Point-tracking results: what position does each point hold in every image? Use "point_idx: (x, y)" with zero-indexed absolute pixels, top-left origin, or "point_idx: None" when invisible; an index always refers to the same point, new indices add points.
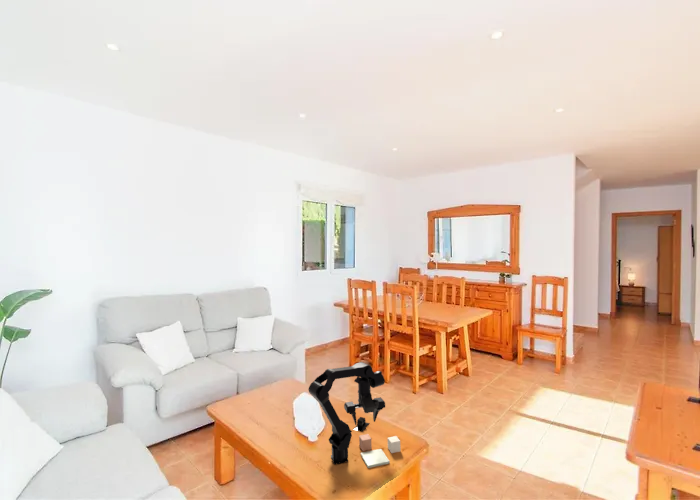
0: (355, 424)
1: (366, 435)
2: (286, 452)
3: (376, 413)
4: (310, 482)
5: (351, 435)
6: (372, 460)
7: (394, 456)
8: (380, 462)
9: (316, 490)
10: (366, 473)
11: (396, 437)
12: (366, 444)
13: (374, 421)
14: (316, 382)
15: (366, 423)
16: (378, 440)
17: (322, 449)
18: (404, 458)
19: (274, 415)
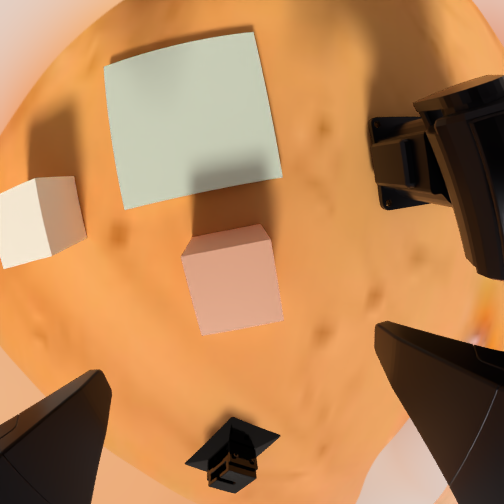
0: (391, 322)
1: (219, 315)
2: None
3: (6, 434)
4: (495, 52)
5: (445, 117)
6: (211, 76)
7: (65, 140)
8: (162, 53)
9: (470, 5)
10: (268, 2)
11: (2, 246)
12: (229, 238)
13: (95, 370)
14: None
15: (202, 464)
16: (138, 327)
17: (464, 272)
18: (26, 122)
19: None
